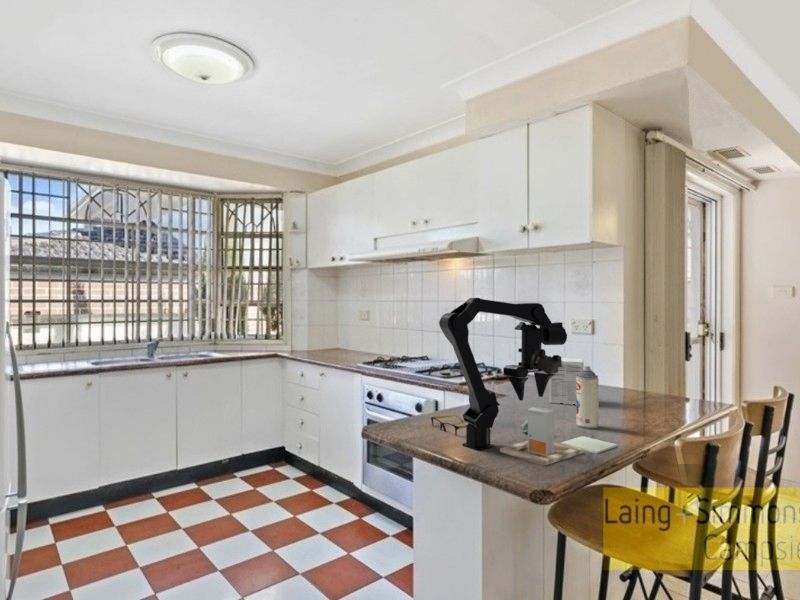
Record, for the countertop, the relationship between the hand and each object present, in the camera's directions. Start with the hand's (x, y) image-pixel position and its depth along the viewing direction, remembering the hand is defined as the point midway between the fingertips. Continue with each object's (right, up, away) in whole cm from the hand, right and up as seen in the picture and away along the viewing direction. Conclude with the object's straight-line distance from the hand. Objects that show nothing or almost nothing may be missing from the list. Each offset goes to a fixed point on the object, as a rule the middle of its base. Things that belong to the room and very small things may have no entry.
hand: (531, 398), depth 140 cm
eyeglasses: (-19, -14, +14) cm, 28 cm away
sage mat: (+16, -13, -3) cm, 21 cm away
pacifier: (+3, -14, +10) cm, 17 cm away
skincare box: (0, -13, -10) cm, 16 cm away
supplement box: (+31, -14, +59) cm, 68 cm away
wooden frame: (0, -13, -10) cm, 16 cm away
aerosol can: (+24, -13, +18) cm, 33 cm away
